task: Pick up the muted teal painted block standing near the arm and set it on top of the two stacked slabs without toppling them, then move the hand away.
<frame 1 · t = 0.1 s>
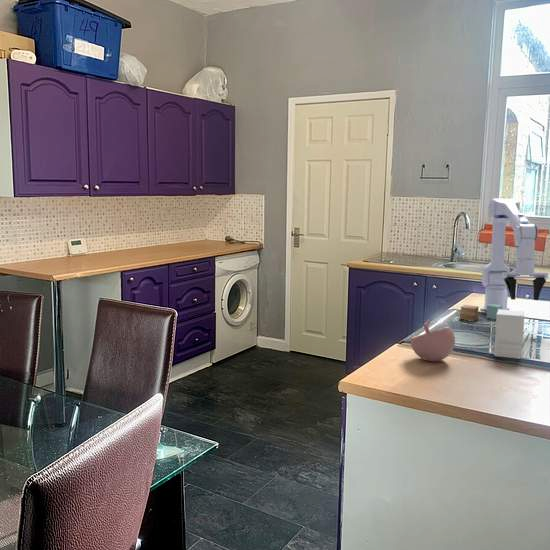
hand: (524, 299, 190), 11 cm above the countertop, tool pointing down, fingers open, 7 cm apart
teal block: (493, 318, 209), on the countertop
tower top: (469, 313, 207), point 2 cm above the countertop, touching tower base
pink apple: (431, 361, 158), on the countertop
supplement box: (507, 355, 164), on the countertop
tower base: (468, 319, 207), on the countertop, touching tower top
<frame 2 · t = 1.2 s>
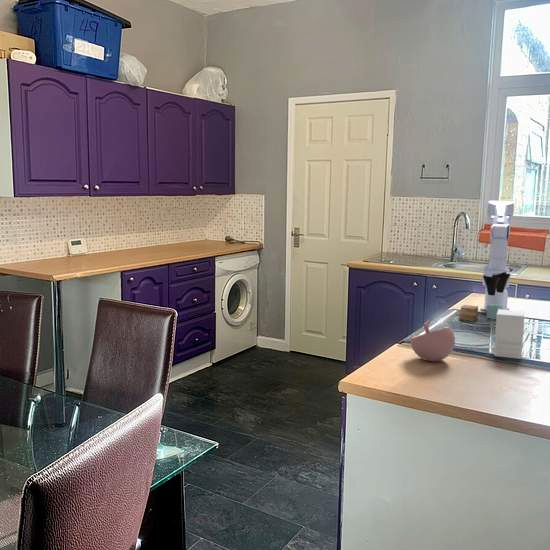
hand: (495, 293, 207), 9 cm above the countertop, tool pointing down, fingers open, 7 cm apart
nothing on the countertop moved.
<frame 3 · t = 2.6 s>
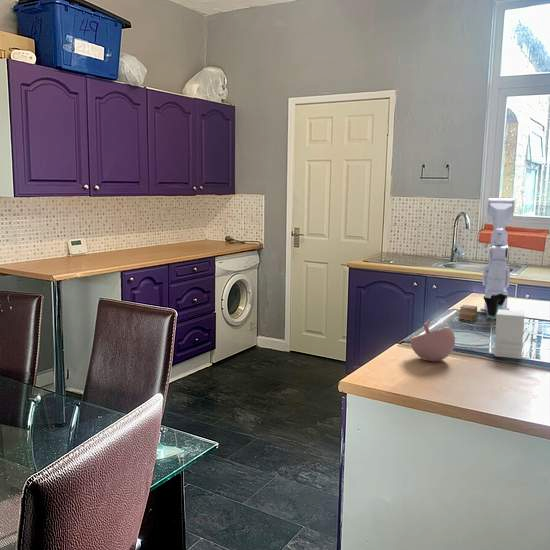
hand: (494, 314, 209), 1 cm above the countertop, tool pointing down, fingers closed on teal block, 4 cm apart
teal block: (493, 318, 209), on the countertop, touching gripper
everything else where it was.
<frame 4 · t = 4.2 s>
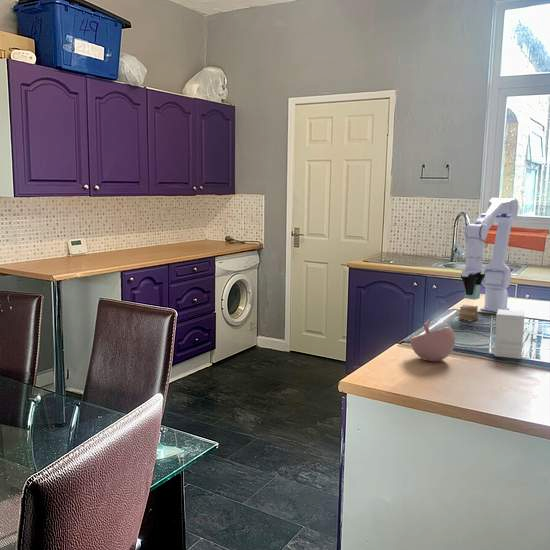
hand: (471, 293, 206), 9 cm above the countertop, tool pointing down, fingers closed on teal block, 4 cm apart
teal block: (472, 298, 206), point 8 cm above the countertop, touching gripper
everything else where it was.
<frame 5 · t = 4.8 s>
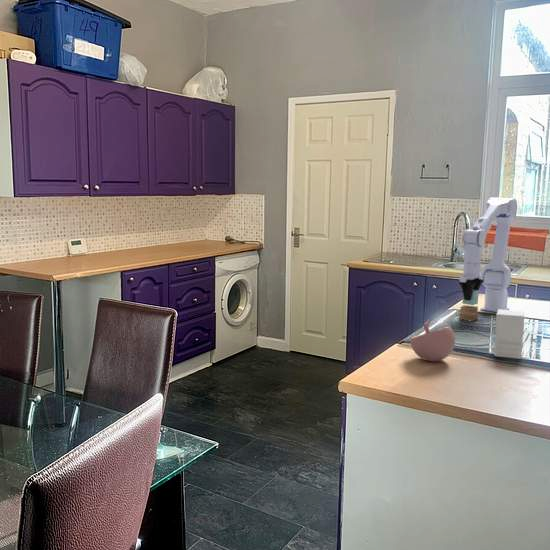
hand: (470, 299, 206), 7 cm above the countertop, tool pointing down, fingers closed on teal block, 4 cm apart
teal block: (470, 303, 206), point 6 cm above the countertop, touching gripper
everything else where it was.
when the fingers open (7 cm above the countertop, at t = 5.1 s): teal block drops 1 cm, resting on tower top.
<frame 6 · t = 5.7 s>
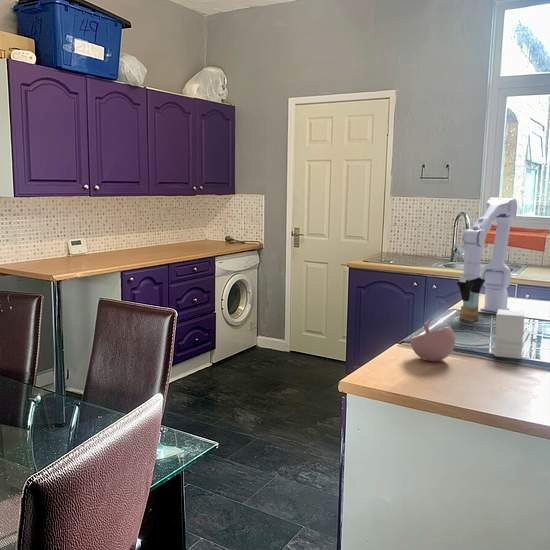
hand: (470, 299, 206), 7 cm above the countertop, tool pointing down, fingers open, 7 cm apart
teal block: (470, 306, 207), point 5 cm above the countertop, touching tower top
tower top: (469, 312, 207), point 2 cm above the countertop, touching teal block
tower base: (469, 319, 207), on the countertop
everything else where it was.
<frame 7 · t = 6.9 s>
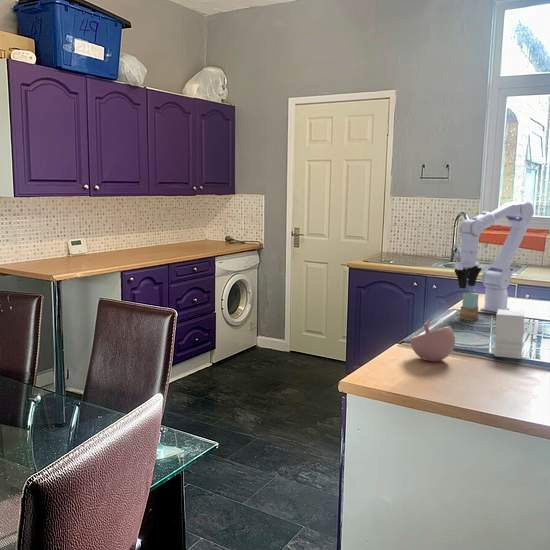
hand: (466, 286, 215), 10 cm above the countertop, tool pointing down, fingers open, 7 cm apart
tower top: (469, 313, 207), point 2 cm above the countertop, touching teal block, tower base
tower base: (468, 319, 208), on the countertop, touching tower top
everything else where it was.
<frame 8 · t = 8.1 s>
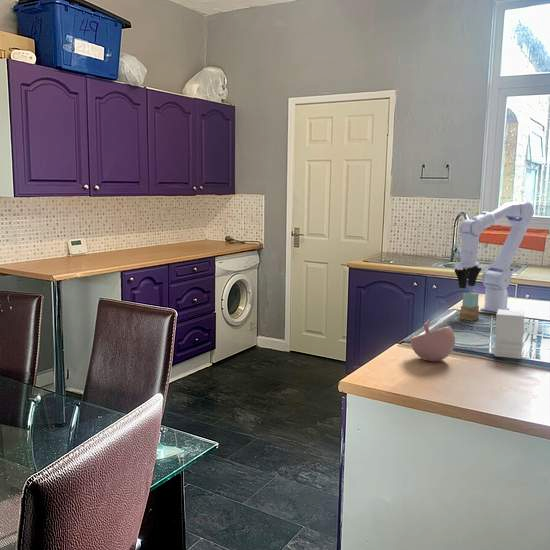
hand: (466, 286, 215), 10 cm above the countertop, tool pointing down, fingers open, 7 cm apart
nothing on the countertop moved.
at the end: teal block 0.0 cm off-centre on the tower base, point 5.0 cm above the tower base's base; tower top 0.3 cm off-centre on the tower base, point 2.5 cm above the tower base's base; teal block tilted 0° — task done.
